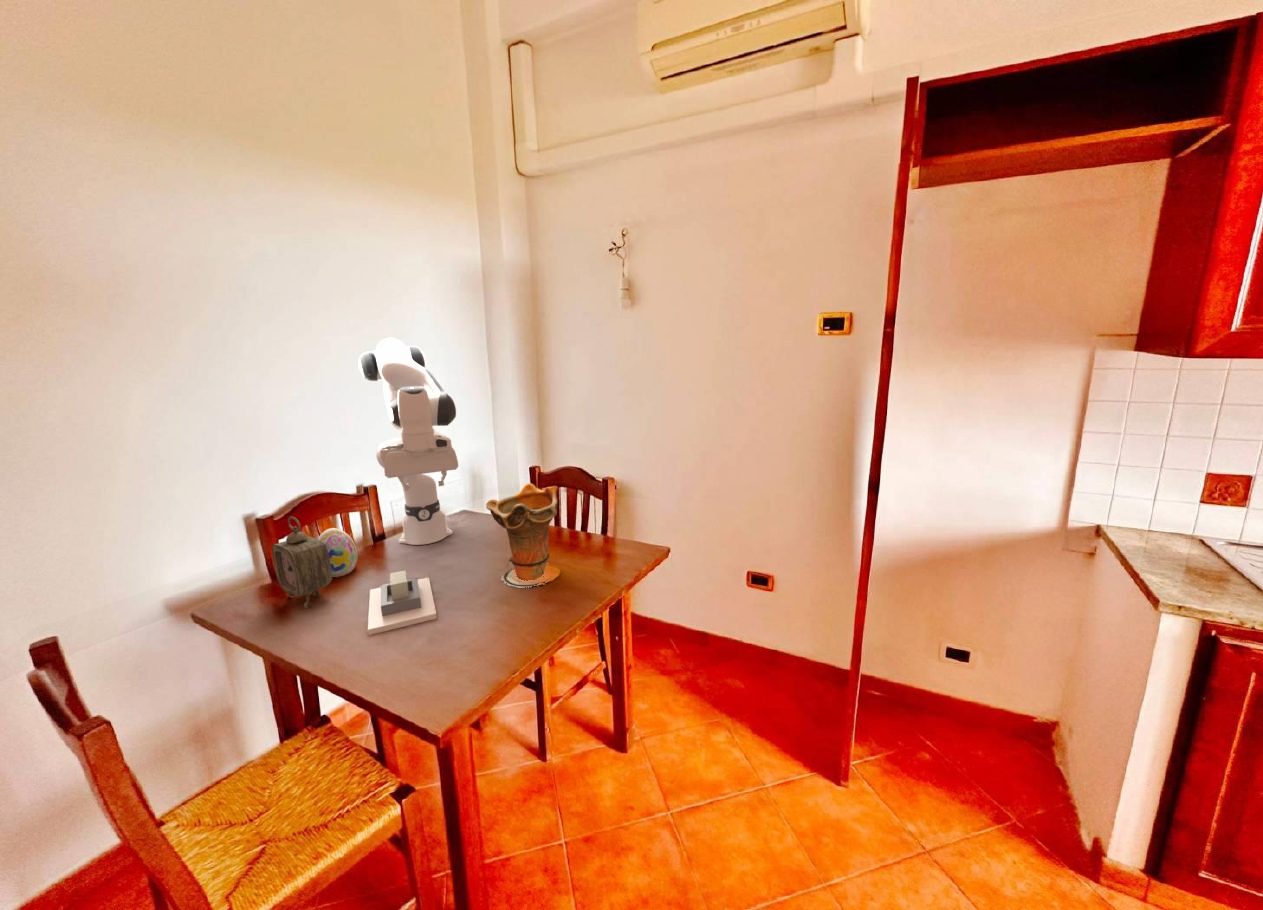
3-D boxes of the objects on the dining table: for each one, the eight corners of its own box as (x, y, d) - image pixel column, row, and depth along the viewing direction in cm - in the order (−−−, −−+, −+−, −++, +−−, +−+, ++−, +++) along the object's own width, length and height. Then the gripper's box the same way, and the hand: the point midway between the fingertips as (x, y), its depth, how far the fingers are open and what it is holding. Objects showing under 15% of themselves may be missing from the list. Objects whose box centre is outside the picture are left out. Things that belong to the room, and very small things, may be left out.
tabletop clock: (280, 599, 144) (264, 517, 139) (314, 586, 152) (300, 508, 146) (304, 612, 136) (288, 526, 131) (338, 598, 144) (324, 516, 138)
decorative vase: (478, 588, 146) (472, 495, 141) (518, 560, 168) (514, 479, 163) (543, 597, 140) (538, 500, 135) (575, 566, 161) (573, 482, 157)
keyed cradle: (370, 594, 145) (368, 580, 144) (429, 581, 152) (427, 568, 151) (368, 635, 124) (365, 618, 123) (436, 618, 131) (434, 602, 130)
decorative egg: (317, 585, 152) (309, 539, 149) (314, 571, 162) (306, 528, 159) (362, 573, 159) (355, 529, 156) (356, 561, 169) (350, 519, 166)
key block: (393, 609, 134) (390, 585, 132) (393, 596, 141) (390, 573, 139) (409, 605, 135) (406, 581, 134) (408, 593, 142) (405, 570, 141)
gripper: (379, 448, 138) (386, 495, 141) (456, 440, 147) (461, 485, 150) (379, 444, 144) (386, 490, 147) (453, 437, 153) (458, 480, 156)
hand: (424, 487), depth 149 cm, fingers open, 8 cm apart
